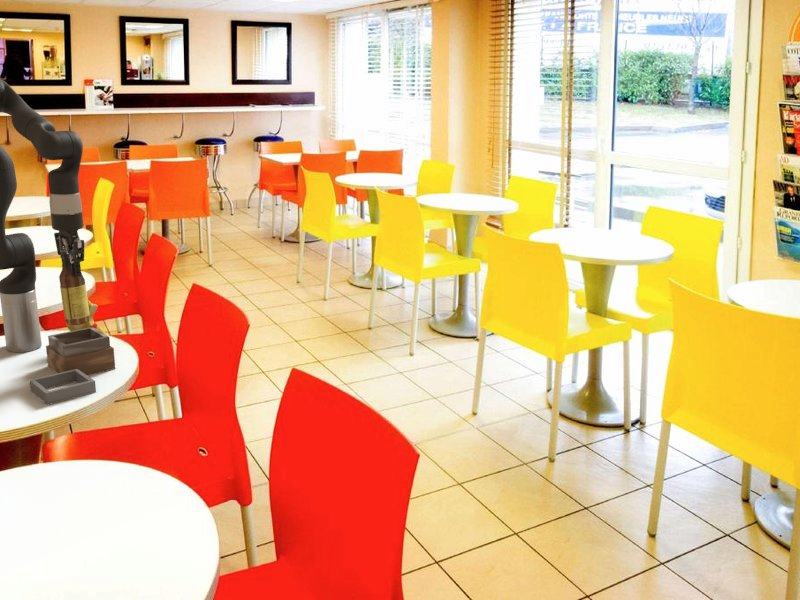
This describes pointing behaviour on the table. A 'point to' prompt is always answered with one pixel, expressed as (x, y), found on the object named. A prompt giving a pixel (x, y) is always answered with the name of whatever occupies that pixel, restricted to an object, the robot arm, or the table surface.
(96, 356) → the walnut dock
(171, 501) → the table surface
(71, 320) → the sauce bottle
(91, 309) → the chocolate bunny
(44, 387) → the low holder
